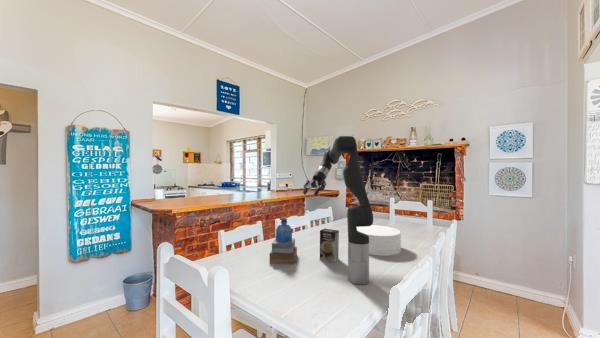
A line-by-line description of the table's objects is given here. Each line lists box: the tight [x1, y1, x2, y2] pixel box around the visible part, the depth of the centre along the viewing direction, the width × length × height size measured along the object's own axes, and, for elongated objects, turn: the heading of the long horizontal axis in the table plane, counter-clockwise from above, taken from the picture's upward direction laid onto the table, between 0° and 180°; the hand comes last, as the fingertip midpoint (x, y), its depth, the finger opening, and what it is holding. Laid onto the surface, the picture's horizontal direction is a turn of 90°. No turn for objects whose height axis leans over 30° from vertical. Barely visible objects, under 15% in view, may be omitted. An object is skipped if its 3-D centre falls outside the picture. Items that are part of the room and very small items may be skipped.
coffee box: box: [319, 228, 340, 263], centre depth 138 cm, size 9×6×16 cm
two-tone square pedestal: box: [269, 237, 298, 265], centre depth 139 cm, size 13×13×10 cm
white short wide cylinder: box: [357, 224, 402, 257], centre depth 159 cm, size 28×28×12 cm
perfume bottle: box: [275, 218, 293, 243], centre depth 139 cm, size 6×6×12 cm
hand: (309, 194), depth 150 cm, fingers open, 8 cm apart
